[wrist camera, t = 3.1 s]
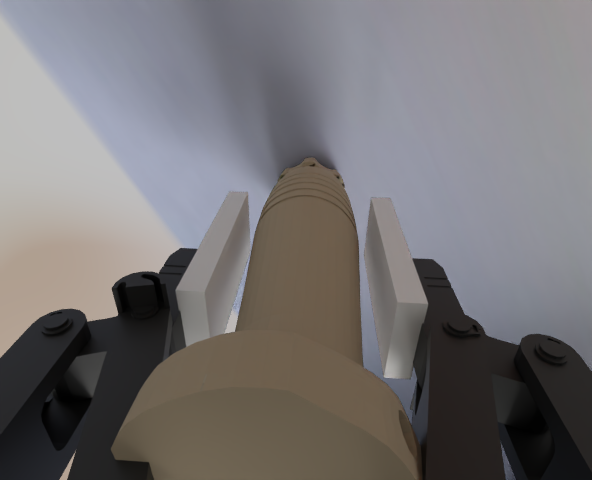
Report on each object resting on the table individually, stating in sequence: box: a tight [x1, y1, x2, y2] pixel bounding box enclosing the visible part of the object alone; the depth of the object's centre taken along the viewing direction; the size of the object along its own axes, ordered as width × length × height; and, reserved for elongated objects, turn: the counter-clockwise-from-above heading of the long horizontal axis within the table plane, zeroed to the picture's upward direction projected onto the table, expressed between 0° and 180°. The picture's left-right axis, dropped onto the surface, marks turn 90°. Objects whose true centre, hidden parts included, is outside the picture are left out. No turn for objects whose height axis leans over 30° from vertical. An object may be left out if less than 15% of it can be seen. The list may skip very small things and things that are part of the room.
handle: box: [111, 157, 423, 480], centre depth 13 cm, size 5×6×15 cm
